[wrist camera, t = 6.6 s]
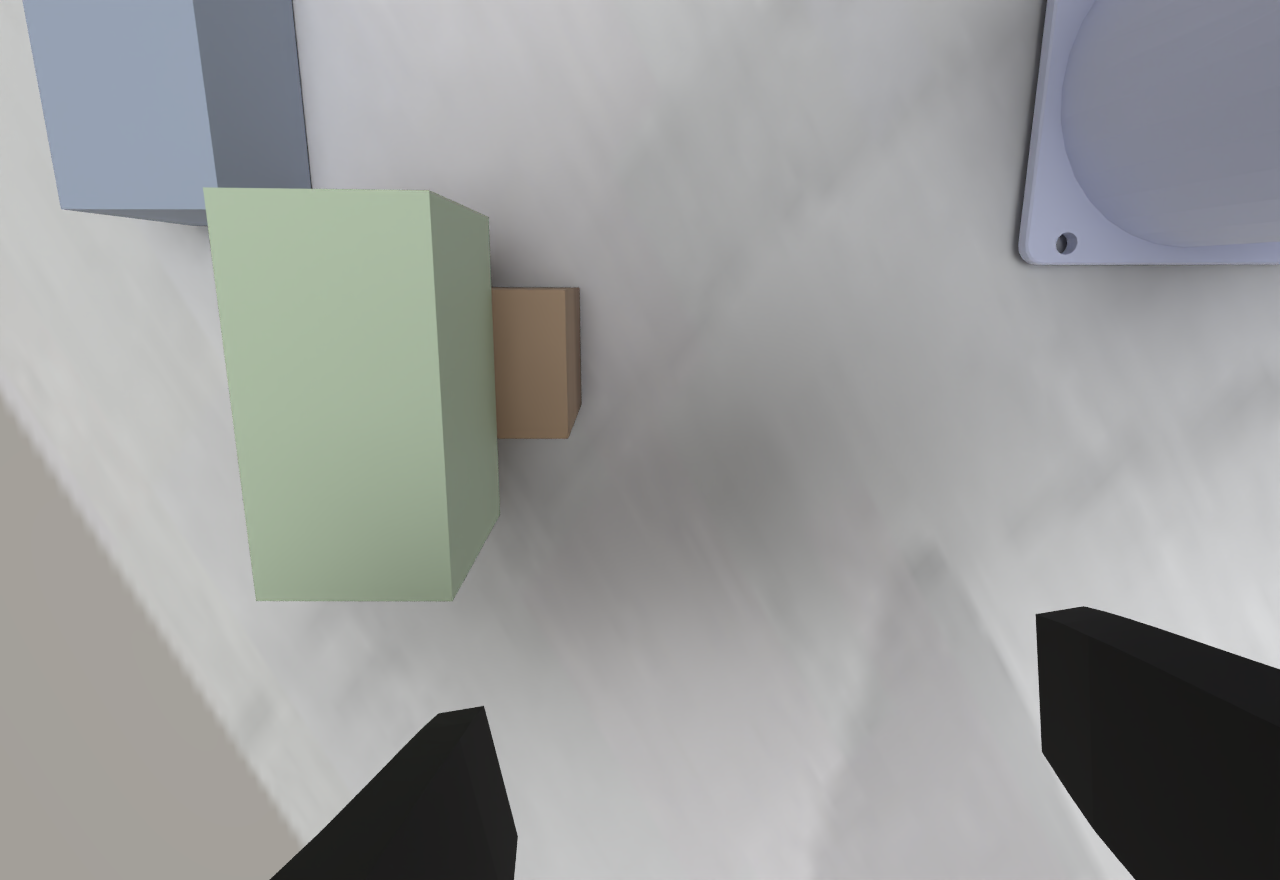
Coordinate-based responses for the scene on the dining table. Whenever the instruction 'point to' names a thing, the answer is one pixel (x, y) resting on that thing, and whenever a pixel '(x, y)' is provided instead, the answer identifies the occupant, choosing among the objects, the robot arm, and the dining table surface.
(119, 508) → the dining table surface
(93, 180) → the slate brick
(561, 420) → the walnut brick
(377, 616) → the dining table surface
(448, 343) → the sage brick
